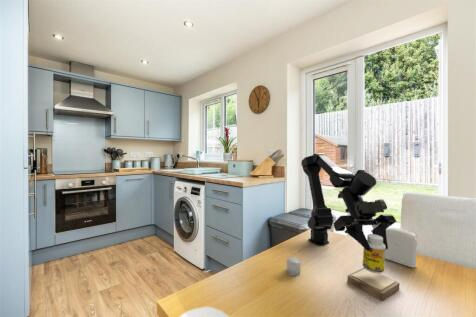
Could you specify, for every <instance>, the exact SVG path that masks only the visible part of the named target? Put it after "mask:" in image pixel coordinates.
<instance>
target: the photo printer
mask: <svg viewBox="0 0 476 317" xmlns="http://www.w3.org/2000/svg"><path fill="white" fill-rule="evenodd" d="M386 237H387V244H388V249H387V250H386V251H385V260H388V261H392V262H395V263H398V264H400V265H403V266H406V267H409V268H412V269H413V268H416V266H417V247H418V239H417V238H418V237H417V235H416V234H415V233H413V232H412V231H410V230H406V229H403V228H401V227H400V228H399V227H392V226H389V227H388V228H386Z"/></svg>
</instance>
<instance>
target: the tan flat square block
mask: <svg viewBox="0 0 476 317" xmlns="http://www.w3.org/2000/svg"><path fill="white" fill-rule="evenodd" d="M346 280H347V281H346V282H347V283H349V284H350V285H353V286H354V287H356V288H358V289H360V290H361V291H364V292H365V293H368V294H369V295H370V296H372V297H373V298H374V297H375V298H376V299H378V300H380V301H381V302H382V301H385V300H386V299H387V298H389V297H390V296H392V295H393V294H395V293H396V292H397V291H399V290H400V282H399V281H397V280H394V279H392V278H390V277H388V276H386V275H383V274H382V273H380V274H377V273H372V272H369V271H367V270H366V269H365V268H364V267H362V268H360V269H358V270H356V271H354V272H352V273H350V274H348V275H347V279H346Z"/></svg>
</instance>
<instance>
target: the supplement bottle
mask: <svg viewBox="0 0 476 317" xmlns="http://www.w3.org/2000/svg"><path fill="white" fill-rule="evenodd" d="M366 239H367V242H368V244H369V246H370V250H369V251H367V250H366V249H365V248H364V247H363V252H362V255H363V256H362V268H365V269H366V270H367V271H369V272H372V273H377V274H382V273H384V271H385V263H386V262H385V261H386V259H385V251H386V246H385V245H384V244H383V237H381V236H379V235H375V234H373V233H369V234H367V238H366Z"/></svg>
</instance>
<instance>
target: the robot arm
mask: <svg viewBox="0 0 476 317" xmlns="http://www.w3.org/2000/svg"><path fill="white" fill-rule="evenodd" d="M300 166H301V167H302V171H303V173H305V174H306V176H307V178H308V183H309V189H310V193H311V194H310V195H311V199H312V204H313V207H312V210H311V213H310V216H311V217H310V218H309V219H308V220H307V227H308V228H309V229H310V238H308V239H307V240H308V241H309V242H311V243H313V244H315V245H318V246H323V245H326V244H329V243H330V241H329V240H328V238H329V233H328V230H332V227H333V228H334V230H335V232H344V233H345V234H348V235H349V236H350V237H351V238H352V239H354V240H355V241H356V242H357V243H358V244H359V245H360V246H362V247H363V249H364V248H365V249H366V250H367V251H369V250H370V246H369V244H368V242H367V238H366V235H365V233H364V231H363V226H371V227H372V229H371V230H370V232H371V234H375V235H379V236H381V237H383V244H384V245H385V246H386V250H387V249H388V244H387V237H386V228H388V227H392V225H394V224H395V223H397V219H396V218H395V216H394V215H392V214H387V213H385V210H387V209H388V205H387V203H386V201H385V200H384V199H375V200H374V201H366V200H364V199H363V196H365V195H367V194H368V192H369V191H371V190H372V189H373V188H374V187H375V185H377V179H376V178H375V177H374V176H373V175H372V174H370V173H368V172H367V171H365V169H357V170H356V172H355V174H354V173H353V172H351V171H349V170H347V169H344V168H341V167H340V166H339V165H337V164H336V163H335V162H334V161H333V160H332V159H330V157H328V155H327V154H326V153H324V152H321V153H320V152H319V153H318V152H316V153H314V154H312V155H310V156H309V155H308V156H306V157H304V158H303V159H302V160H301V165H300ZM321 170H323V171H324V172H325V173H326V174H328V176H329V182H330V183H331V185H332V186H333V187H334V188H335V189H342V190H339V191H338V192H339V193H338V194H337V199H342V201H343V202H344V205H345V207H346V208H345V213H349V215H340V216H339V217H338V218H337V219H336V220H334V216H333V213H332V212H333V211H332V209H331V208H330V207H327V205H326V202H325V199H324V198H325V197H324V194H323V193H324V192H323V188H322V183H321V178H320V172H321ZM377 213H378V214H379V213H385V214H380V215H378V216H377ZM376 216H377V217H376ZM374 217H376V218H374Z"/></svg>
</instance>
